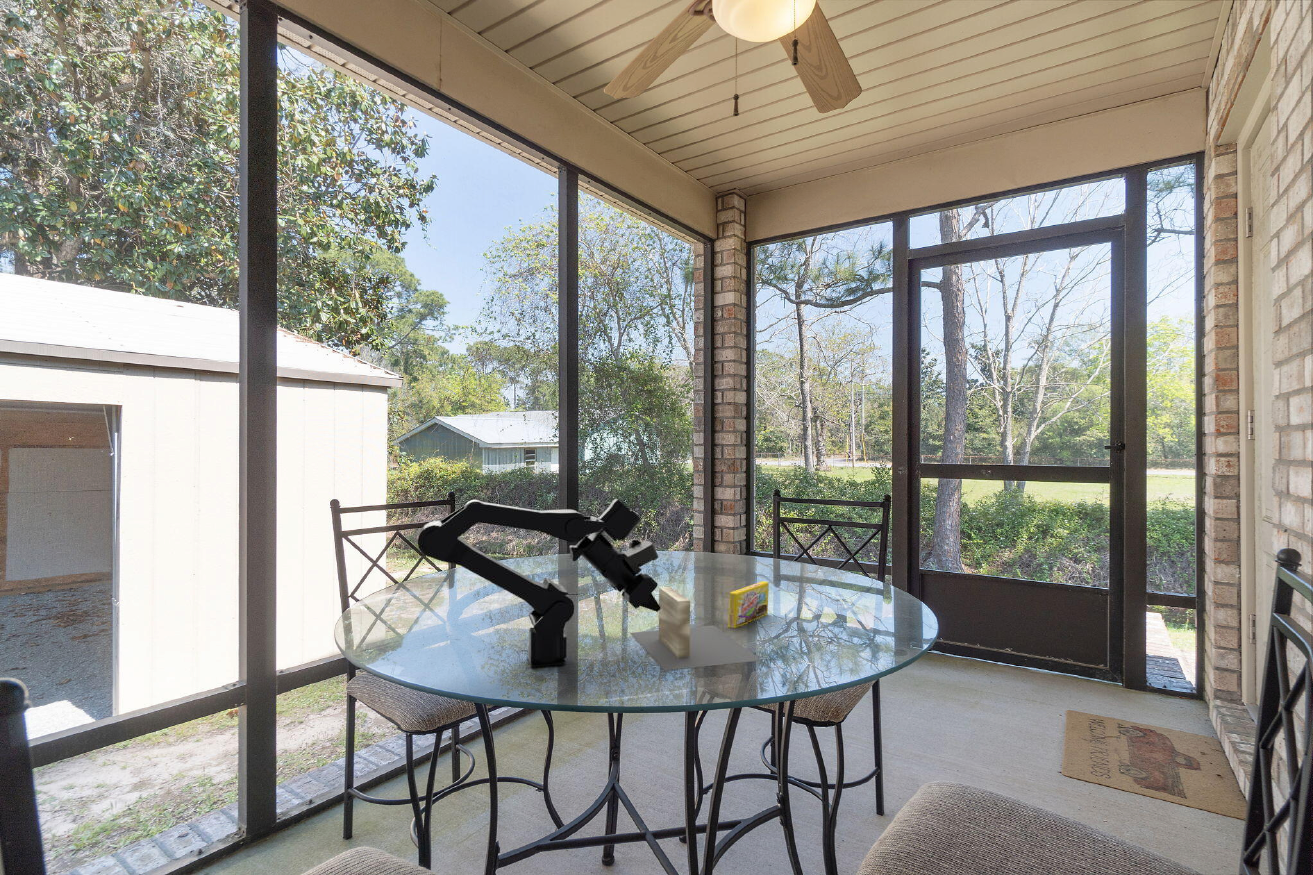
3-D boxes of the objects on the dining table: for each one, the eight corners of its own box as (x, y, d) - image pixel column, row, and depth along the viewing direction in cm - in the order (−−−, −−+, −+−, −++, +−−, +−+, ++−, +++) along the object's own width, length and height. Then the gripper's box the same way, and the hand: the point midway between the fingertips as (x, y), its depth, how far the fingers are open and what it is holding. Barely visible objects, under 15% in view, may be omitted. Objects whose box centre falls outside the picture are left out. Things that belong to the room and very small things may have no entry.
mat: (664, 672, 118) (664, 670, 118) (629, 634, 140) (629, 632, 140) (762, 661, 124) (762, 660, 124) (713, 626, 147) (713, 625, 147)
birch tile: (677, 657, 125) (678, 601, 125) (658, 639, 136) (659, 587, 136) (689, 656, 126) (690, 600, 126) (669, 638, 137) (670, 586, 137)
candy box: (735, 630, 144) (736, 593, 144) (727, 628, 146) (727, 592, 146) (769, 614, 157) (769, 581, 157) (761, 613, 159) (761, 580, 159)
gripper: (647, 535, 119) (702, 590, 123) (621, 522, 137) (670, 570, 141) (606, 580, 117) (663, 634, 120) (585, 561, 135) (635, 609, 138)
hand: (658, 609), depth 130 cm, fingers closed
